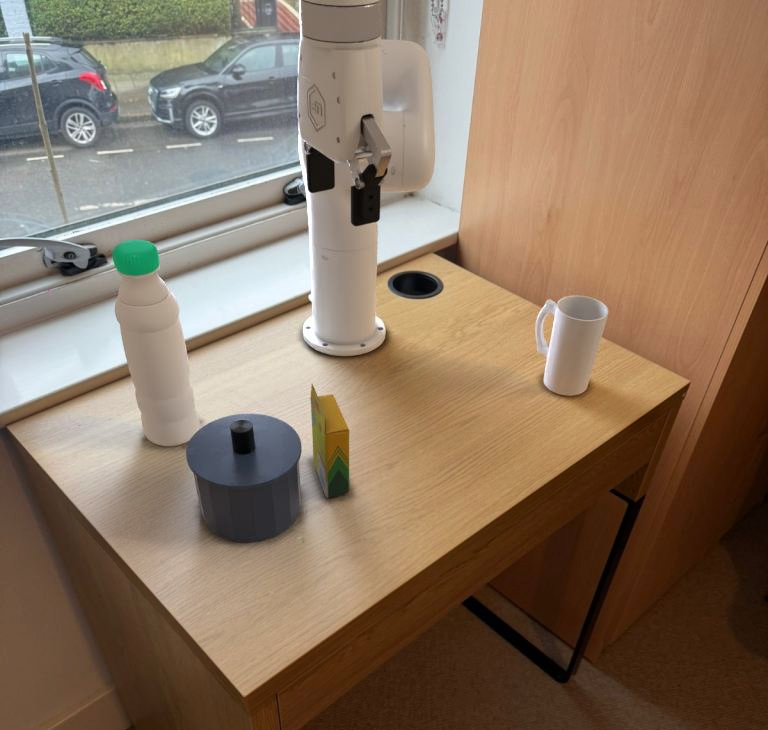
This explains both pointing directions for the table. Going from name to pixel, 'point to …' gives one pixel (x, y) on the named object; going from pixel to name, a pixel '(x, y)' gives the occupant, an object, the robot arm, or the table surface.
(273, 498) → the pot
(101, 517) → the table surface
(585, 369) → the mug
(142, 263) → the water bottle
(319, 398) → the crayon box
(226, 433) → the pot lid
